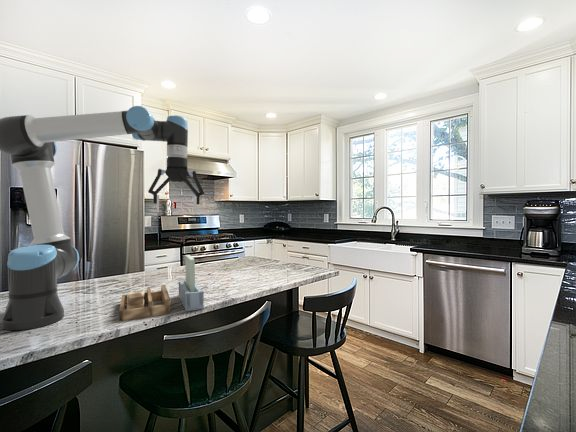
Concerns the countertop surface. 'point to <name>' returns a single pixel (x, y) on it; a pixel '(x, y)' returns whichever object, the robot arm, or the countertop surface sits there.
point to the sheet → (190, 273)
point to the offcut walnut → (135, 299)
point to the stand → (191, 297)
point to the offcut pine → (138, 292)
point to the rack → (150, 309)
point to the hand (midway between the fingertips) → (176, 212)
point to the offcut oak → (135, 306)
